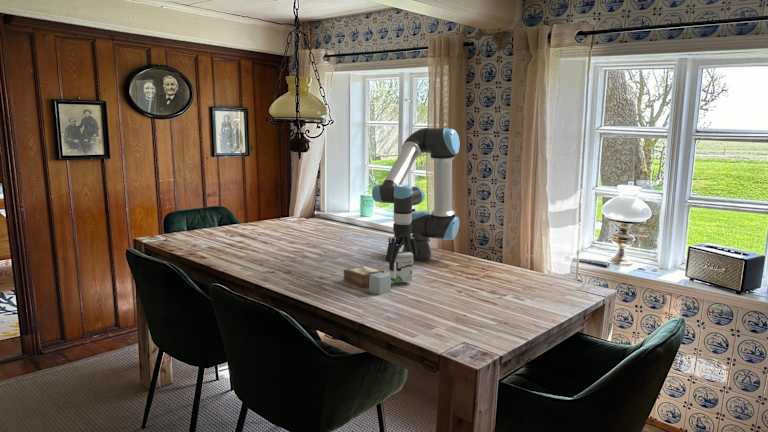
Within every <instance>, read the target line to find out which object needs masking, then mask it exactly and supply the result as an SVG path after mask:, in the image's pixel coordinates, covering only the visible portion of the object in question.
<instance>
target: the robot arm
mask: <svg viewBox="0 0 768 432" xmlns="http://www.w3.org/2000/svg"><path fill="white" fill-rule="evenodd" d="M460 146H461V144H460V136H459V134H458V132H457V131H456V130H455V129H453V128H447V127H443V128H442V127H441V128H440V127H437V128H436V127H435V128H434V127H433V128H432V127H429V128H428V127H423V128H420V129H418V130H416V131H414V132H413V133H411V134H410V135H409V136H408V137H406V139H405V141H404V142H403V144H402V145H401V151H400V153H399V155H398V156H397V158H396V160H395V162H394V163H393V165H392V167H391V169H390V170H389V172H388V173H387V175H386V177H385V178H384V181H383V182H382V184H376V185H374V186H373V188H372V191H371V196H372V199H373V201H374V202H377V203H382V204H393V224H392V226H393V227H392V228H393V230H392V232H393V233H394V235H393V237H388V246H387V249H386V256H385V262H387V263H388V264H389V267H388V268H389V275H391V278H394V279H395V278H396V263H395V260H396V257H397V255H398V252H400V249H401V248H402V250H401V252H404V251H409V252H411V253H412V254H413V266H414V265H415V260H416V261H423V260H425V261H426V260H430V259H431V258H432V250H431V247H430V243H429V240H430V239H437V240H443V241H452V240H454V239H455V238H456V237H457V234H458V231H459V228H460V218H459V216H456V211H455V210H453V160H454V159H455V158H456V155H457V154H458V153H459V152H460ZM424 153H425V154H426V153H428V154H430V159H431V160H432V161H433V199H434V200H433V202H434V203H433V207H434V208H433V210H432V211H431V212H430V210H416V211H413V206H417V205H419V204H421V203H422V202H424V199H425V196H426V195H425V194H426V193H425V191H424V190H423V188H422V187H420V186H412V185H410V184H403V182H404V180H405V179H406V177H407V175H408V173H409V171H410V170H411V168H412V166H413V165H414V163H415V161H416V159H417V158H419V157H420V156H421V155H422V154H424ZM392 259H393V260H392Z"/></svg>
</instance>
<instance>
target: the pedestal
mask: <svg viewBox="0 0 768 432" xmlns="http://www.w3.org/2000/svg"><path fill="white" fill-rule="evenodd" d="M378 272H382V273H385V270H382V269H379V268H376V267H373V266H369V265H360V266H355V267H352V268H347V269H344V270H343V282H345V283H348V284H351V285H353V286H355V287H359V288H362V289H365V288H369V278H370V274H374V273H378Z"/></svg>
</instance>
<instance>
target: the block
mask: <svg viewBox="0 0 768 432" xmlns="http://www.w3.org/2000/svg"><path fill="white" fill-rule="evenodd" d="M391 285H392V281H391V275H390V273H389V274H388V273H386V272H384V273H382V272H378V273H374V274H370V278H369V287H368V288H369V290H368V292H370V293H373V294H375V295H378V296H383V295H385V294H388V293H391V292H392V291H391V288H392V286H391Z"/></svg>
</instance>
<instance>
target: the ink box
mask: <svg viewBox="0 0 768 432" xmlns="http://www.w3.org/2000/svg"><path fill="white" fill-rule="evenodd" d="M392 260H393V259H392ZM395 263H396V278H395V279H394V278H391V282H392V283H403V282H405V283H406V282H413V277H414V276H413V274H414V265H413V254H412V253H411V252H409V251H404V252H402V251H399V252H398V255H397V257H396V260H395Z"/></svg>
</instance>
